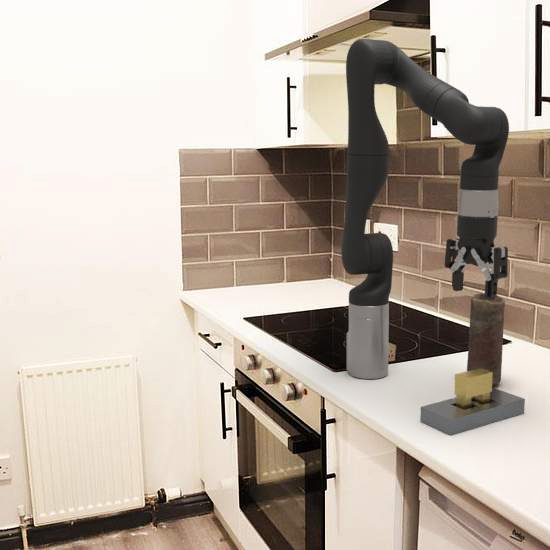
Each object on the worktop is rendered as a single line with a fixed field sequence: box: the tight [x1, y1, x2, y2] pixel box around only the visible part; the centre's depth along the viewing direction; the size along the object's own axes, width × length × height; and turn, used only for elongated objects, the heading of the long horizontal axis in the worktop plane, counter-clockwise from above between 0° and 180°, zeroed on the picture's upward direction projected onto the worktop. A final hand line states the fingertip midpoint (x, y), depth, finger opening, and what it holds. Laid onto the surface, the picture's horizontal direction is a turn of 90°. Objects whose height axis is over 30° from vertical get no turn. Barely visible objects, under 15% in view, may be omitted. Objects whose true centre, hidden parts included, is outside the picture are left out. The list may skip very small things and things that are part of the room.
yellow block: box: [454, 368, 493, 410], centre depth 136 cm, size 3×7×8 cm, turn 120°
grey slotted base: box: [420, 387, 526, 436], centre depth 137 cm, size 8×20×3 cm, turn 121°
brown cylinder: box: [466, 292, 506, 387], centre depth 155 cm, size 8×7×20 cm
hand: (473, 294), depth 138 cm, fingers open, 8 cm apart
